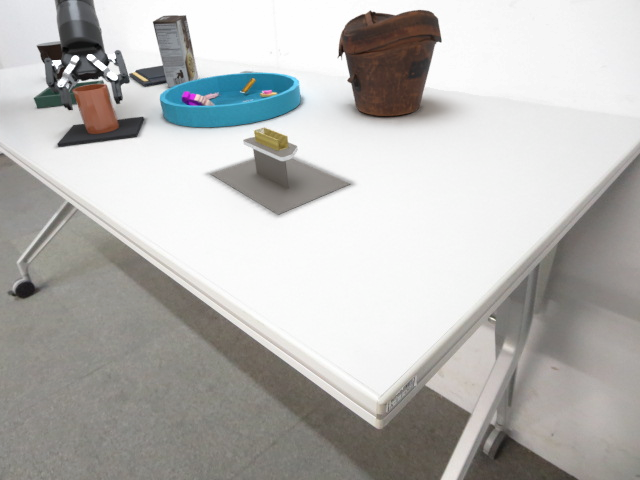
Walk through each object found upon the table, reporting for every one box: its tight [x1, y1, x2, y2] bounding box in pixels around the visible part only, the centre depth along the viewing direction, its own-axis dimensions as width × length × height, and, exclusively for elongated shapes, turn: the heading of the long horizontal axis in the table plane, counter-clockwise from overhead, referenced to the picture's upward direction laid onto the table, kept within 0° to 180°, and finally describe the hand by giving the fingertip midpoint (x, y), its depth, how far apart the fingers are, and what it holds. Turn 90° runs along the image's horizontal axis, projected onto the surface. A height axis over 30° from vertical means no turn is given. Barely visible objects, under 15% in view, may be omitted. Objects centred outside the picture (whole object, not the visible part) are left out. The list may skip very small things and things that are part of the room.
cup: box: [72, 83, 119, 134], centre depth 86 cm, size 6×6×8 cm
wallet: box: [128, 64, 167, 87], centre depth 131 cm, size 20×2×15 cm
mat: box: [56, 116, 145, 148], centre depth 88 cm, size 14×12×1 cm
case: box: [337, 9, 443, 117], centre depth 85 cm, size 18×20×18 cm
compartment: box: [33, 79, 105, 109], centre depth 114 cm, size 14×14×2 cm
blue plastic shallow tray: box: [159, 72, 301, 128], centre depth 97 cm, size 30×30×6 cm
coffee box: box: [152, 14, 199, 88], centre depth 117 cm, size 9×6×16 cm
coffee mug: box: [36, 40, 73, 80], centre depth 138 cm, size 12×9×10 cm
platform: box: [210, 127, 351, 215], centre depth 61 cm, size 12×18×7 cm, turn 39°
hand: (93, 104), depth 84 cm, fingers open, 8 cm apart
